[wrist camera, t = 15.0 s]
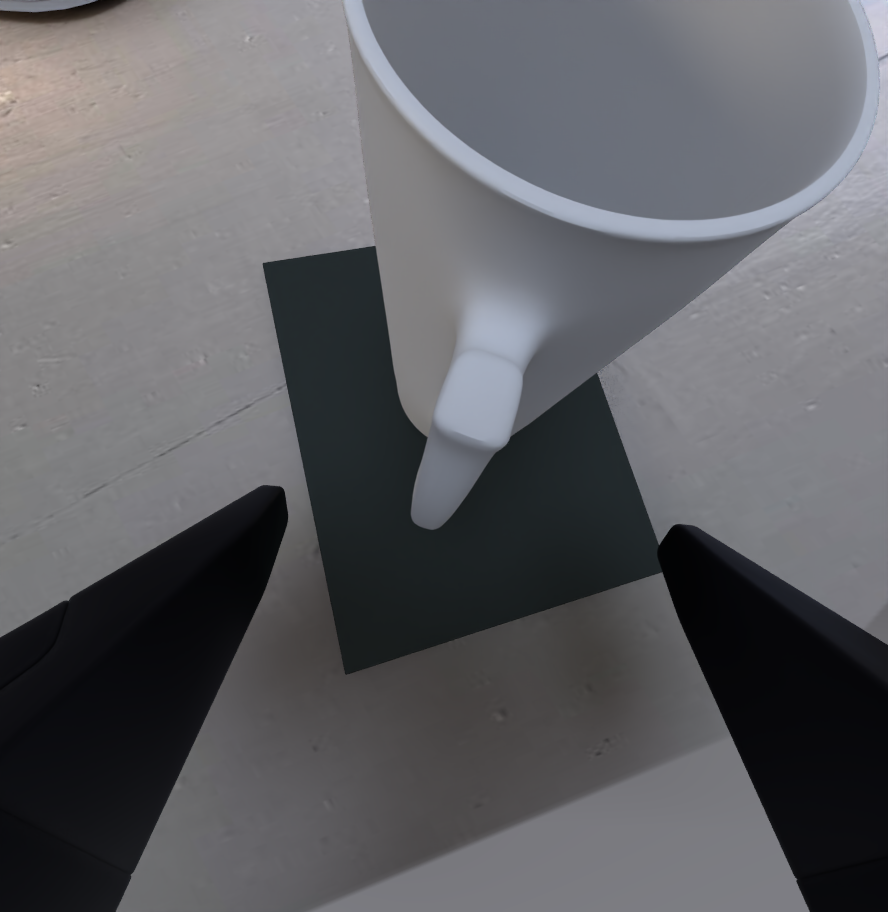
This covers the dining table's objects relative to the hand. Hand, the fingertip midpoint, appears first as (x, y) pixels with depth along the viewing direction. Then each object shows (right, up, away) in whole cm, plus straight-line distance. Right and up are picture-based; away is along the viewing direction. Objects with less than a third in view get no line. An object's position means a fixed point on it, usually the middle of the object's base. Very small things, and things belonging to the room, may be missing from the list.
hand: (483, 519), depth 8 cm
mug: (0, +3, +8) cm, 8 cm away
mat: (0, +3, +8) cm, 9 cm away
